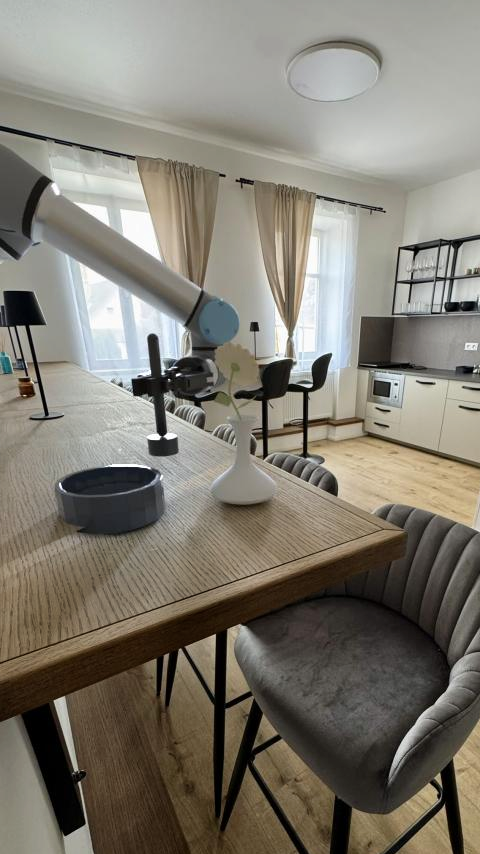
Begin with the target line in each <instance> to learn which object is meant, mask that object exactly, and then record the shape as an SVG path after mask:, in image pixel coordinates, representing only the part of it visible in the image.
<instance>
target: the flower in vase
mask: <svg viewBox="0 0 480 854" xmlns="http://www.w3.org/2000/svg"><path fill="white" fill-rule="evenodd" d="M215 354H216V355H215V359H216V360H215V364H216V365H217V366H218V367H219V371H220V372H221V373H223V376H224V377H225V378H227V381H229V382H228V391H227V392H228V395H227V394H225V393H223V392H218V393H217V395H216V396H215V398H214V400H213V402H214V403H217V404H220V405H223V406H224V407H228V408H229V407H230V406H231V404H232V407H233V409H234V411H235V413H236V414H233V415H228V416H226V420H227V421H228V422H229V424H230V426H231V428H232V430H233V435H234V438H235V448H236V450H235V451H236V453H235V455H236V456H235V460H234V463H233V464H232V465H231V466H230V467H229V468H228V469H227V470H225V471H224V472H223V473H222V474H220V475H219V476H218V477H216V479H215V480H214V481H213V482H212V483H211V485H210V488H209V491H210V494H211V496H213V498H214V499H216V500H218V501H220V502H222V503H227V504H231V505H241V506H242V505H254V504H259V503H264V502H266V501H268V500H270V499H272V498H273V497H274V496H275V495H276V494H277V493H278V486H277V483H276V481H274V479H272V477H270V476H269V475H268V474H267V473H265V472H264V471H263V470H262V469H260V468H259V467H258V466H256V465H255V463H254V462H253V460H252V456H251V439H252V433H253V428H254V426H255V424H256V423H257V421H258V420H259V417H258V416H257V415H254V414H253V415H252V414H240V412H239V410H238V409H241V408H243V407H245V406H247V405H249V404H250V403H251V402H252V401H254V399H256V398H257V395H255V396H254V397H253V398H250V399H248V400H246V401H244V402H243V403H241V404H240V405H239V406H238V407H237V406H236V404H235V401H234V400H233V397H232V394H231V389H232V383H235V384H236V385H237V386H239V387H240V386H242V387H245V388H247V387H248V386H252V385H253V384H257V383H258V382H259V378H258V377H260V376H259V374H260V373H259V372H260V368H259V365H260V364H259V363H258V362H257V361H256V356H255V355H254V354H250V350H249V349H248V348H243V346H242V344H241V343H236V344H234V343H233V342H231V341H229V342H228V343H223V346H218V347H217V349H215Z"/></svg>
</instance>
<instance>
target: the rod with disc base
mask: <svg viewBox="0 0 480 854" xmlns="http://www.w3.org/2000/svg"><path fill="white" fill-rule="evenodd" d="M146 342H147V351H148V361H149V371H150V372H151V378H154V377H159V376H162V373H163V370H162V361H161V360H162V359H161V349H160V340H159V336H158V335H157V334H156V333H154V332H152V333H149V334H148V335H147V337H146ZM152 400H153V410H154V420H155V429H156V430H155V431H156V433H153V434H150V435H147V437H146V440H147V449H148V454H149V455H150V456H152V457H159V458H163V457H171V456H176V455H177V454H179V452H180V450H179V438H178V434H175V433H170V432H168V426H167V425H168V424H167V415H166V404H165V393H164V394H161V395H158V396H154V397H152Z"/></svg>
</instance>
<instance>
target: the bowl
mask: <svg viewBox="0 0 480 854" xmlns="http://www.w3.org/2000/svg"><path fill="white" fill-rule="evenodd" d="M53 486H54V493H55V498H56V503H57V508H58V513H59V518H60V519H61V520H62V521H64V522H65V523H66V524H69V525H73V526H76V527H82V528H79V529H77V530H76V531H74V532H75V533H78V534H86V535H87V534H88V535H106V534H107V535H108V534H117V533H123V532H127V531H128V532H129V531H133V530H136V529H140V528H142V527H145V526H147V525H149V524H151V523H154V522H155V521H157V520H159V519H160V518H161V517H162V516H163V515H164V514H165V511H166V499H165V490H164V479H163V474H162V473H161V471H160V470H158V469H156V468H154V467H151V466H145V465H140V464H139V465H138V464H111V465H101V466H94V467H90V468H85V469H80V470H76V471H75V472H70V473H67V474H66V475H64V476H62V477H60V478H59V479H58V480H57V481H56V482H55V483H54V485H53Z"/></svg>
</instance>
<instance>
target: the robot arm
mask: <svg viewBox="0 0 480 854" xmlns="http://www.w3.org/2000/svg"><path fill="white" fill-rule="evenodd" d="M44 242H45V243H47V244H49V245H50V246H52V247H53V248H55V249H57V250H58V251H60V252H62V253H63V254H65V255H67V256H68V257H70V258H72V259H73V260H75V261H77V262H78V263H80V264H82V266H85V267H86V268H88V269H89V270H91V271H93V272H94V273H96V274H98V275H100V276H101V277H103V278H104V279H106V280H108V281H110V282H111V283H113V284H114V285H116V286H117V287H119V288H121V289H122V290H124V291H126V292H128V293H129V294H131V295H132V296H134V297H136V298H137V299H139V300H141V301H142V302H144V303H145V304H147V305H148V306H150V307H152V308H153V309H155V310H157V311H159V312H160V313H162V314H163V315H165V316H167V317H169V318H170V319H172V320H173V321H175V322H176V323H178V324H179V325H182V326H183V327H185V328H186V329H188V330H189V331H190V339H191V340H190V341H191V342H190V343H191V355H190V356H189V355H188V356H184V357H180V358H178V359H177V360H176V361H175V362H174V363H173V365H172V367H170V368H168V369H167V368H166V369H164V370H163V372H162V376H159V377H154V378H151V372H150V370H149V371H146V372H143V373H139V374H137V377H134V378H130V381H131V389H132V396H133V397H136V398H137V397H141V396H146V395H147V397H148V398H153V397H154V396H158V395H161V394H164V395H165V394H168V393H170V392H173V393H175V392H179V393H181V394H183V395H186V396H196V395H200V396H201V395H203V394H204V392H206V391H209V390H212V389H217V388H219V387H221V386H222V385H223V384H225V383H226V382H227V381H228V379H227V378H225V377H224V376H223V373H221V372H220V371H219V367H218V366H217V365H216V364H215V360H216V359H215V355H216V354H215V349H217V347H218V346H223V343H228V342H231V341H232V340H233V339H235V338H236V336H237V335H238V333H239V331H240V325H241V323H240V316H239V313H238V311H237V310H236V308H235V307H234V306H233V305H232V304H230V303H229V302H227V301H226V300H223V298H222V297H220V296H218V295H211V294H210V293H209V292H207V291H205V290H204V289H202V288H201V287H200V286H198V285H197V284H196V283H193V282H192V281H190V280H189V279H188V278H186V277H185V276H183V275H182V274H181V273H179V272H178V271H176V270H174V269H173V268H171V266H169V265H167V264H165V263H164V262H162V261H161V260H159V259H158V258H156V257H155V256H153V255H152V254H151V253H149V252H148V251H146V250H144V249H143V248H142V247H140V246H138V245H137V244H135V243H134V242H132V241H131V240H129V238H127V237H125V236H124V235H122V234H121V233H119V232H118V231H116V230H115V229H113V228H112V227H110V226H109V225H108V224H106V223H104V222H103V221H101V220H100V219H98V218H97V217H95V216H94V215H93V214H91V213H89V212H88V211H86V210H85V209H84V208H82V207H80V206H79V205H77V204H76V203H75V202H74V201H71V200H70V199H68V198H67V197H66V196H64V195H63V194H62V192H61V189H60V186H59V184H58V183H57V182H55V181H54V180H53V179H52V178H50V177H48V176H46V175H45V173H42V172H41V171H39V170H38V169H37V168H36V167H35V166H33V165H32V164H31V163H29V162H28V161H27V160H25V159H24V158H23V157H22V156H20V154H18V153H16V152H15V151H14V150H12V149H11V148H9V147H7V146H6V145H3V144H1V143H0V266H1V265H2V264H3V263H5V262H6V263H18V262H19V260H21V258H23V256H24V255H25V254H26V253H28V251H29V249H30V248H31V247H36V246H39V245H40V244H42V243H44Z"/></svg>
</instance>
